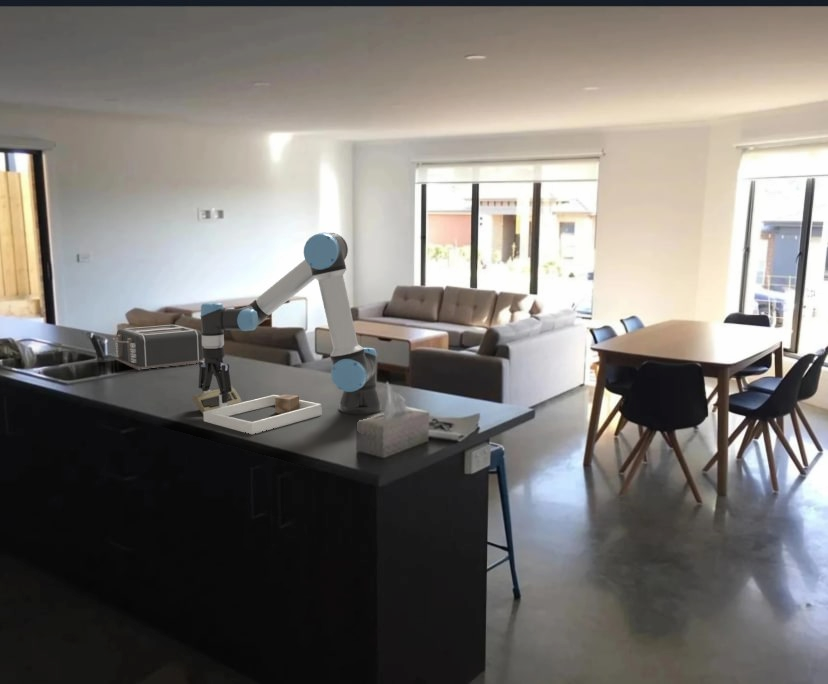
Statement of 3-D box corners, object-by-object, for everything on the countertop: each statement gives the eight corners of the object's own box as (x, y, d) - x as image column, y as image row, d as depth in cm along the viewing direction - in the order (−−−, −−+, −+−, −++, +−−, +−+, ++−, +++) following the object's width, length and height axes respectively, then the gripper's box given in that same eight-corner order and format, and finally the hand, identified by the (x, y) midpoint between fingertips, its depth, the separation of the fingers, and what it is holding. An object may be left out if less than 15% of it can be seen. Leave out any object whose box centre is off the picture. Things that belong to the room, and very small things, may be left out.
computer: (203, 416, 254) (206, 409, 252) (191, 400, 257) (194, 393, 255) (241, 406, 265) (243, 399, 264) (229, 390, 269) (231, 384, 267)
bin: (321, 415, 258) (321, 404, 257) (252, 435, 232) (251, 423, 232) (274, 405, 272) (274, 394, 271) (203, 423, 246) (203, 411, 245)
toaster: (106, 365, 349) (104, 329, 346) (179, 357, 371) (177, 323, 369) (129, 375, 326) (127, 336, 323) (205, 365, 349) (203, 329, 346)
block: (299, 412, 262) (299, 396, 261) (289, 416, 257) (289, 399, 256) (285, 410, 265) (285, 394, 264) (275, 414, 259) (275, 397, 258)
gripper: (241, 347, 254) (243, 412, 257) (203, 342, 266) (205, 404, 269) (223, 350, 248) (226, 416, 251) (185, 345, 260) (188, 408, 263)
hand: (215, 410), depth 260 cm, fingers closed on computer, 8 cm apart
